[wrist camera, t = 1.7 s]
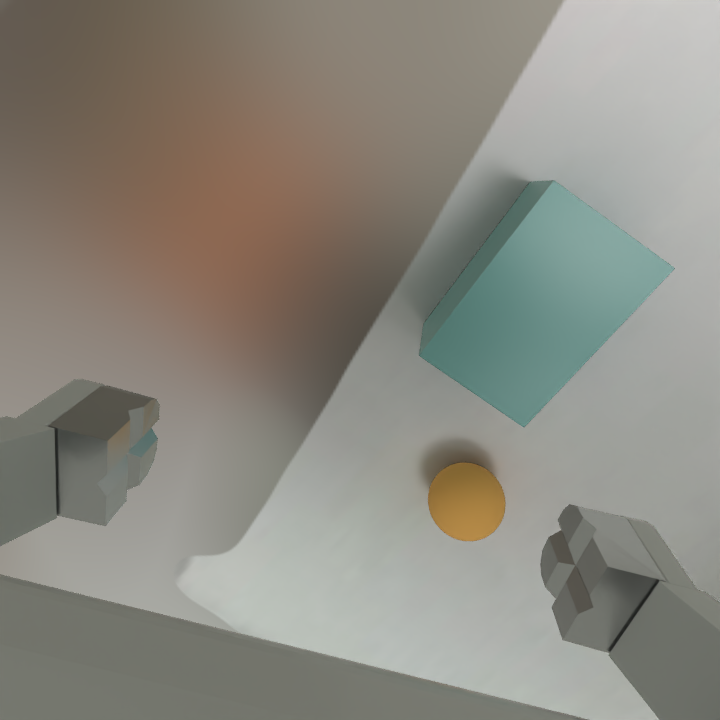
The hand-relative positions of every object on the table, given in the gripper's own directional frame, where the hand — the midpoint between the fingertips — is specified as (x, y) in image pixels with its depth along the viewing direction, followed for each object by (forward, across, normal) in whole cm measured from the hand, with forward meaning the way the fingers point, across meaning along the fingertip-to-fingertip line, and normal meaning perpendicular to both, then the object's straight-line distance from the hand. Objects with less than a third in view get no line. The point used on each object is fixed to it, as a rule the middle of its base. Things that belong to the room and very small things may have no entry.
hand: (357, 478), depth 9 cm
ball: (+18, +9, -14) cm, 24 cm away
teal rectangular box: (+21, +8, 0) cm, 23 cm away
